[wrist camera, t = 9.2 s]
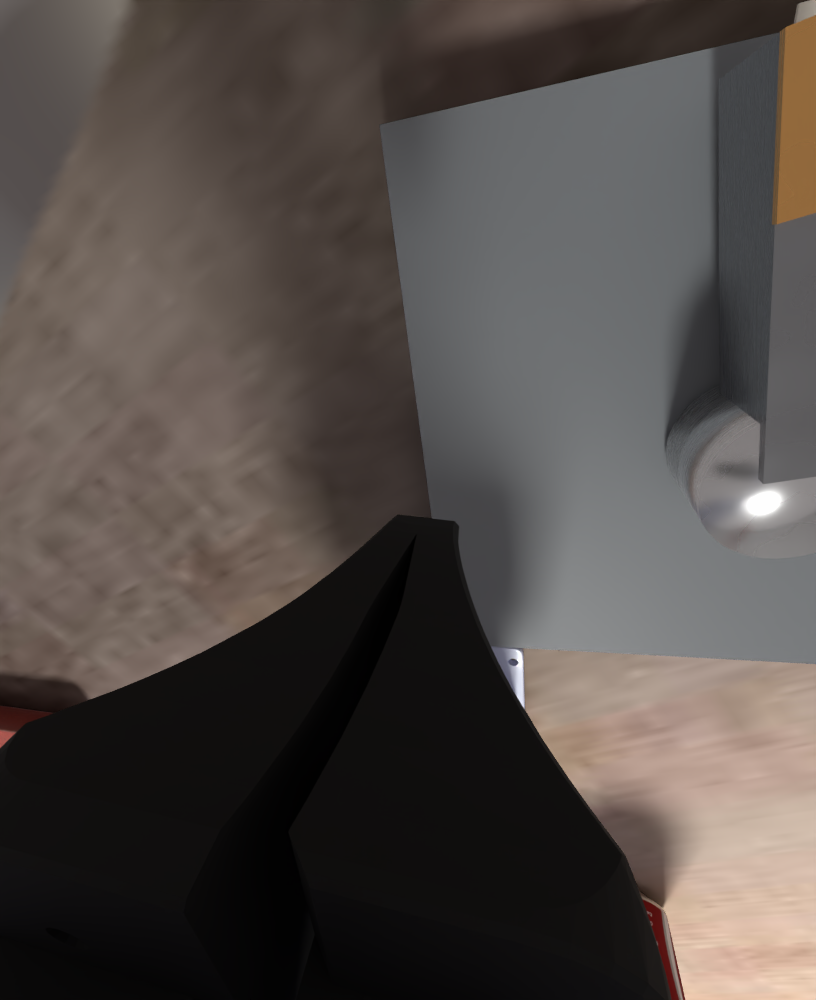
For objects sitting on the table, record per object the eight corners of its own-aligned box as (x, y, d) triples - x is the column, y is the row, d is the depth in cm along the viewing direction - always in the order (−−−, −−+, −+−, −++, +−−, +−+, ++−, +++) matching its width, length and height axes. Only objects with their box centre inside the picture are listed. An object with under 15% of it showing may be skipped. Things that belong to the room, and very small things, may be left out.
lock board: (972, 643, 18) (1009, 676, 17) (452, 621, 23) (448, 645, 22) (1446, -128, 9) (1615, -195, 7) (389, 118, 14) (375, 105, 12)
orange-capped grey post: (869, 23, 10) (1030, -73, 7) (819, 490, 15) (900, 559, 12) (645, 111, 11) (694, 64, 8) (669, 511, 16) (705, 577, 13)
